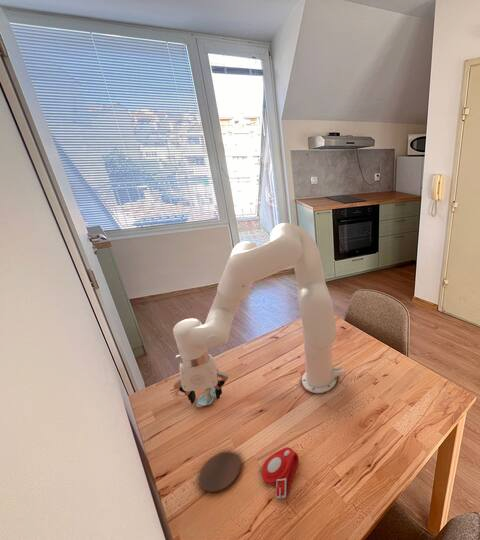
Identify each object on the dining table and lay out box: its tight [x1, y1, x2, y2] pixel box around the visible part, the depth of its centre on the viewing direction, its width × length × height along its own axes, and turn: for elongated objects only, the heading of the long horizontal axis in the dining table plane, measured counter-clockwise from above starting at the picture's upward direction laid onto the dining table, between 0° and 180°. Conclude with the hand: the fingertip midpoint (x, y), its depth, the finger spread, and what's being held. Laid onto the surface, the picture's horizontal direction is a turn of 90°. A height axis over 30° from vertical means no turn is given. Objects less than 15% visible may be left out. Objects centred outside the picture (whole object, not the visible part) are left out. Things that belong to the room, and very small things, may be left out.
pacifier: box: [195, 387, 217, 408], centre depth 97 cm, size 7×6×6 cm
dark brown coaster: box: [198, 451, 242, 494], centre depth 78 cm, size 10×10×1 cm
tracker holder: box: [261, 446, 300, 499], centre depth 77 cm, size 12×4×10 cm
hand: (206, 397), depth 98 cm, fingers open, 7 cm apart
